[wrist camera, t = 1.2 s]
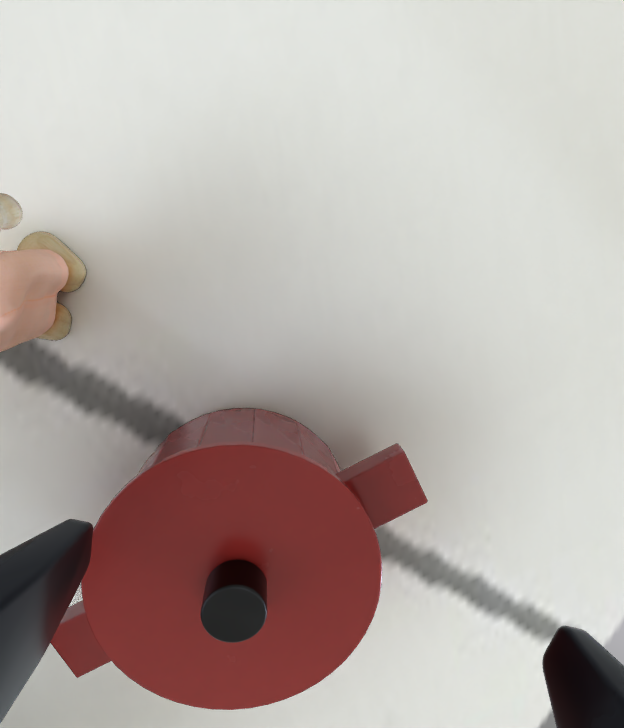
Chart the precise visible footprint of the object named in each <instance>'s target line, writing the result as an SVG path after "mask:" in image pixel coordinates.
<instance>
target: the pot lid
mask: <svg viewBox="0 0 624 728" xmlns="http://www.w3.org/2000/svg"><path fill="white" fill-rule="evenodd" d="M381 585H382V561H381V551H380V547H379V543H378V540H377V536H376V533H375V530H374V528H373V526H372V523H371V521H370V519H369V516H368V514H367V512H366V511H365V509H364V507H363V506H362V504H361V502H360V501H359V499H358V498H357V497H356V496H355V494H354V493H353V492H352V491H351V489H350V488H349V487H348V486H347V485H346V484H345V483H344V482H343V481H342V480H341V479H340V478H338V477H337V476H336V475H335V474H334V473H333V472H331V471H330V470H328V469H327V468H325V467H324V466H323V465H321V464H320V463H318V462H316V461H314V460H312V459H310V458H308V457H306V456H304V455H303V454H300V453H297V452H295V451H292V450H289V449H286V448H283V447H279V446H275V445H270V444H266V443H258V442H247V441H231V442H218V443H211V444H205V445H200V446H196V447H193V448H189V449H186V450H182V451H180V452H178V453H175V454H173V455H170V456H168V457H166V458H163V459H162V460H160V461H158V462H156V463H155V464H153V465H151V466H150V467H148V468H146V469H145V470H143V471H142V472H141V473H139V474H138V475H137V476H136V477H134V478H133V479H132V480H130V481H129V482H128V483H127V484H126V485H125V486H124V487H123V488H122V489H121V490H120V491H119V492H118V493H117V494H116V495H115V497H114V498H113V500H112V501H111V502H110V504H109V505H108V506H107V508H106V509H105V510H104V512H103V513H102V515H101V516H100V518H99V520H98V522H97V524H96V526H95V527H94V529H93V537H92V548H91V558H90V563H89V566H88V568H87V571H86V573H85V575H84V577H83V579H82V581H81V588H82V598H83V605H84V609H85V612H86V616H87V620H88V623H89V625H90V627H91V629H92V632H93V634H94V636H95V638H96V640H97V641H98V643H99V645H100V646H101V648H102V649H103V651H104V652H105V654H106V655H107V656H108V657H109V658H110V659H111V661H112V662H113V663H114V664H115V665H116V666H117V667H118V668H119V669H120V670H121V671H122V672H123V673H124V674H126V675H127V676H128V677H129V678H130V679H132V680H133V681H135V682H136V683H138V684H139V685H140V686H142V687H143V688H145V689H147V690H149V691H151V692H153V693H155V694H157V695H159V696H161V697H164V698H166V699H169V700H172V701H174V702H177V703H181V704H185V705H189V706H193V707H199V708H207V709H222V710H234V709H245V708H253V707H258V706H263V705H268V704H271V703H275V702H278V701H281V700H284V699H287V698H289V697H292V696H294V695H296V694H298V693H301V692H303V691H305V690H306V689H308V688H310V687H312V686H313V685H315V684H317V683H318V682H320V681H321V680H323V679H324V678H325V677H327V676H328V675H329V674H331V673H332V672H333V671H334V670H335V669H336V668H338V667H339V666H340V665H341V664H342V663H343V662H344V661H345V660H346V659H347V658H348V656H349V655H350V654H351V653H352V652H353V651H354V649H355V648H356V647H357V645H358V644H359V642H360V641H361V639H362V638H363V636H364V635H365V633H366V631H367V629H368V627H369V625H370V623H371V621H372V619H373V617H374V614H375V611H376V608H377V604H378V601H379V596H380V591H381Z"/></svg>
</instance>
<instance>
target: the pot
mask: <svg viewBox="0 0 624 728" xmlns="http://www.w3.org/2000/svg"><path fill="white" fill-rule="evenodd" d="M231 441H247V442H258V443H266V444H270V445H275V446H279V447H283V448H286V449H289V450H292V451H295V452H297V453H300V454H303V455H304V456H306V457H308V458H310V459H312V460H314V461H316V462H318V463H320V464H321V465H323V466H324V467H325V468H327V469H328V470H330V471H331V472H333V473H334V474H335V475H336V476H337V477H338V478H340V479H341V480H342V481H343V482H344V483H345V484H346V485H347V486H348V487H349V488H350V489H351V491H352V492H353V493H354V494H355V496H356V497H357V498H358V499H359V501H360V502H361V504H362V506H363V507H364V509H365V511H366V512H367V514H368V516H369V519H370V521H371V523H372V526H373V528H374V529H375V528H377V527H379V526H381V525H383V524H385V523H387V522H389V521H391V520H393V519H395V518H397V517H399V516H401V515H403V514H405V513H407V512H409V511H411V510H413V509H415V508H417V507H419V506H421V505H423V504H425V503H427V498H426V496H425V494H424V492H423V490H422V488H421V486H420V483H419V481H418V479H417V477H416V475H415V473H414V471H413V469H412V467H411V464H410V462H409V460H408V458H407V456H406V454H405V452H404V451H403V449H402V448H401V447H400V445H399V444H398V443H396V444H394V445H392V446H390V447H388V448H386V449H384V450H382V451H380V452H378V453H376V454H374V455H372V456H370V457H368V458H366V459H364V460H362V461H360V462H358V463H356V464H354V465H352V466H350V467H348V468H346V469H344V470H342V471H341V470H340V468H339V466H338V463H337V461H336V460H335V458H334V456H333V454H332V452H331V450H330V448H328V446H327V445H326V444H325V443H323V441H322V440H321V439H320V438H319V437H317V436H316V435H315V434H314V433H313V432H312V431H311V430H309V429H308V428H306V427H305V426H304V425H302V424H301V423H299V422H297V421H296V420H293V419H291V418H289V417H287V416H284V415H281V414H278V413H276V412H271V411H267V410H263V409H253V408H232V409H226V410H219V411H216V412H212V413H208V414H205V415H203V416H200V417H198V418H196V419H193V420H191V421H190V422H188V423H186V424H184V425H183V426H181V427H179V428H178V429H177V430H175V431H173V432H172V433H170V434H169V435H168V436H167V438H166V439H165V440H164V441H163V442H162V443H161V444H160V445H159V446H158V448H157V449H156V450H155V452H154V453H153V454H152V455H151V456H150V457H149V459H148V460H147V461H146V462H145V463H144V465H143V466H142V468H141V470H140V471H139V473H141V472H142V471H143V470H145V469H146V468H148V467H150V466H151V465H153V464H155V463H156V462H158V461H160V460H162V459H163V458H166V457H168V456H170V455H173V454H175V453H178V452H180V451H182V450H186V449H189V448H193V447H196V446H200V445H205V444H211V443H218V442H231ZM139 473H138V474H139ZM138 474H137V475H138ZM50 643H51V644H52V645H53V647H54V648H55V649H56V651H57V652H58V653H59V655H60V656H61V657H62V659H63V660H64V661H65V663H66V664H67V665H68V666H69V668H70V669H71V670H72V672H73V673H74V674H75V676H76V677H77V678H78V677H80V676H82V675H84V674H86V673H88V672H90V671H92V670H94V669H96V668H98V667H100V666H102V665H104V664H106V663H108V662H110V661H111V659H110V658H109V657H108V656H107V655H106V654H105V652H104V651H103V649H102V648H101V646H100V645H99V643H98V641H97V640H96V638H95V636H94V634H93V632H92V629H91V627H90V625H89V623H88V620H87V616H86V612H85V609H84V605H83V600H82V601H80V602H78V603H76V604H74V605H72V606H70V607H68V608H67V610H66V612H65V614H64V616H63V618H62V620H61V622H60V624H59V626H58V628H57V630H56V632H55V634H54V636H53V638H52V640H51V642H50Z"/></svg>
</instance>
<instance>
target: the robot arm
mask: <svg viewBox="0 0 624 728" xmlns="http://www.w3.org/2000/svg"><path fill="white" fill-rule="evenodd" d="M92 537H93V526H92V524H91V523H89V522H85V521H80V520H75V519H69V520H66V521H64V522H62V523H60V524H58V525H57V526H55V527H53V528H51V529H49V530H47V531H45V532H43V533H41V534H39V535H37V536H36V537H34V538H32V539H30V540H28V541H26V542H24V543H22V544H20V545H18V546H17V547H15V548H13V549H11V550H9V551H7V552H5V553H3V554H1V555H0V723H1V722H2V720H3V718H4V717H5V715H6V714H7V712H8V711H9V709H10V707H11V706H12V704H13V703H14V701H15V700H16V698H17V696H18V695H19V693H20V692H21V690H22V689H23V687H24V685H25V684H26V682H27V681H28V679H29V678H30V676H31V675H32V673H33V671H34V670H35V668H36V667H37V665H38V663H39V662H40V660H41V658H42V657H43V655H44V653H45V651H46V649H47V647H48V646H49V644H50V642H51V640H52V638H53V636H54V634H55V632H56V630H57V628H58V626H59V624H60V622H61V620H62V618H63V616H64V614H65V612H66V610H67V608H68V606H69V604H70V603H71V601H72V599H73V597H74V595H75V593H76V591H77V589H78V587H79V585H80V583H81V581H82V579H83V577H84V575H85V573H86V571H87V568H88V566H89V563H90V558H91V548H92ZM543 672H544V676H545V680H546V684H547V689H548V693H549V697H550V701H551V706H552V710H553V714H554V718H555V722H556V727H557V728H624V666H623V665H622V664H621V663H620V662H619V661H618V660H617V659H616V658H615V657H613V656H612V655H611V654H610V653H609V652H608V651H607V650H606V649H605V648H604V647H603V646H601V645H600V644H599V643H598V642H597V641H596V640H595V639H594V638H593V637H592V636H590V635H589V634H588V633H587V632H586V631H584V630H582V629H578V628H573V627H569V626H561V627H560V628H558V630H557V631H556V633H555V635H554V637H553V639H552V641H551V642H550V644H549V646H548V648H547V650H546V652H545V654H544V656H543Z"/></svg>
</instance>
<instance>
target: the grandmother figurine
mask: <svg viewBox="0 0 624 728" xmlns="http://www.w3.org/2000/svg"><path fill="white" fill-rule="evenodd" d="M21 219H22V209H21V207H20V205H19V203H18V202H17V201H16V200H15V199H14V198H12V197H11V196H9V195H7V194H3V193H0V231H1V229H4V230H6V229H11V228H13V227H15V226H17V225H18V224H19V223H20V221H21ZM85 276H86V269H85V266H84V264H83V262H82V261H81V260H80V259H79V258H78V257H77V256H76V255H75V254H74V253H73V252H72V251H71V250H70V249H68V248H67V247H66V246H65V245H64V244H63V243H62V242H61V241H60V240H59V239H58V238H56V237H55V236H54V235H52V234H50V233H46V232H35V233H32V234H30V235H28V236H27V237H25V238H24V239H23V240H22V241H21V243H20V244H19V246H18V248H17V251H0V352H2V351H5V350H7V349H9V348H12V347H14V346H16V345H18V344H20V343H23V342H26V341H29V340H31V339H34V338H39V339H47V340H60V339H63V338H64V337H65V336H66V335H67V334H68V333H69V330H70V327H71V320H72V318H71V315H70V312H69V311H68V310H67V308H65V307H64V306H63V305H61V304H59V303H57V293H58V292H59V291H63V292H72V291H75V290H76V289H78V288H79V287H80V286H81V284H82V283H83V281H84V279H85Z"/></svg>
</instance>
